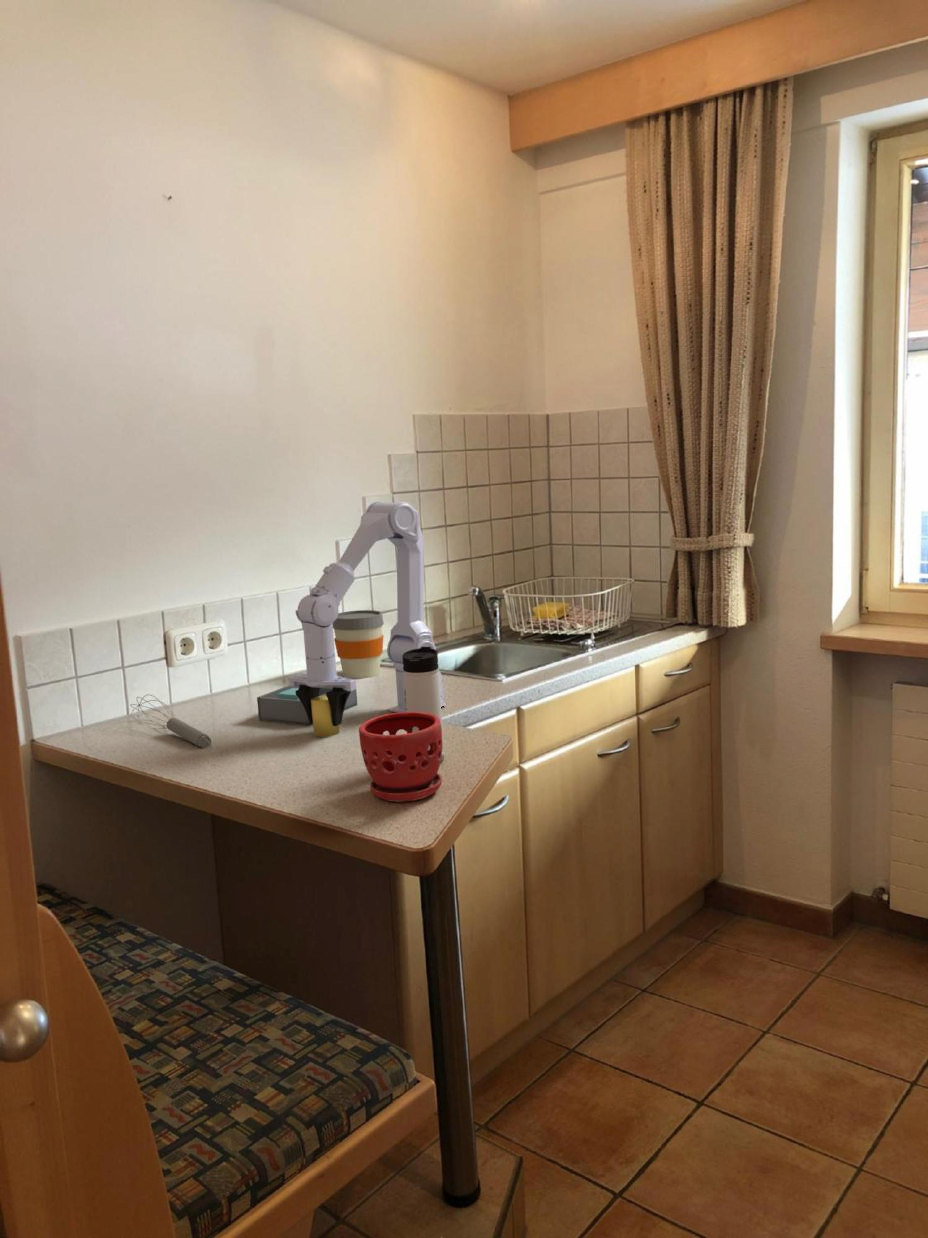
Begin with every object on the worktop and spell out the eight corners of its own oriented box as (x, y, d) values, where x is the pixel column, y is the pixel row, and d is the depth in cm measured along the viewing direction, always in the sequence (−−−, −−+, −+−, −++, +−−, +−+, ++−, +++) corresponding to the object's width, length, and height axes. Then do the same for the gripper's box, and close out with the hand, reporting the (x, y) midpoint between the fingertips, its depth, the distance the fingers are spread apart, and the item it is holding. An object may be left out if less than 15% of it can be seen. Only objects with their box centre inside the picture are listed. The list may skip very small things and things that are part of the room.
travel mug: (449, 755, 183) (443, 646, 179) (436, 767, 176) (430, 654, 173) (417, 754, 185) (410, 645, 181) (403, 765, 178) (396, 653, 175)
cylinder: (344, 730, 202) (341, 696, 201) (329, 737, 198) (326, 702, 197) (323, 728, 205) (320, 694, 203) (308, 735, 200) (305, 701, 199)
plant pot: (381, 778, 172) (376, 709, 170) (455, 782, 169) (451, 711, 166) (351, 805, 160) (345, 732, 158) (430, 810, 156) (425, 734, 154)
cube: (313, 712, 215) (311, 689, 214) (299, 718, 211) (297, 695, 210) (294, 710, 217) (292, 688, 217) (279, 716, 213) (277, 693, 212)
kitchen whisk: (197, 755, 192) (193, 722, 191) (126, 724, 218) (123, 695, 217) (226, 747, 196) (223, 715, 195) (154, 718, 222) (150, 690, 221)
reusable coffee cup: (359, 666, 260) (355, 608, 258) (397, 671, 253) (393, 611, 250) (325, 677, 250) (320, 617, 248) (363, 682, 243) (359, 620, 240)
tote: (308, 700, 228) (306, 678, 227) (357, 704, 222) (355, 682, 221) (259, 720, 213) (257, 697, 213) (310, 725, 207) (308, 701, 206)
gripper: (277, 658, 199) (283, 726, 201) (339, 662, 192) (344, 732, 194) (299, 651, 205) (305, 716, 207) (360, 654, 198) (365, 722, 200)
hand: (325, 723), depth 201 cm, fingers closed on cylinder, 5 cm apart
